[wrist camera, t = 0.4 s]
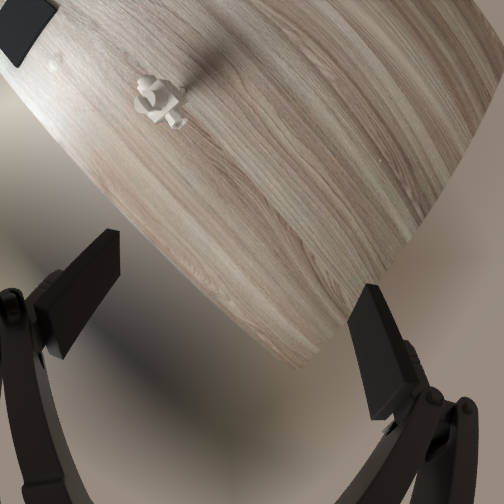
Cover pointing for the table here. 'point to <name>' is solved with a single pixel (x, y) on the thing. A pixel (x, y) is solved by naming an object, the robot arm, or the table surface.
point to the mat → (22, 26)
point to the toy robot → (161, 101)
